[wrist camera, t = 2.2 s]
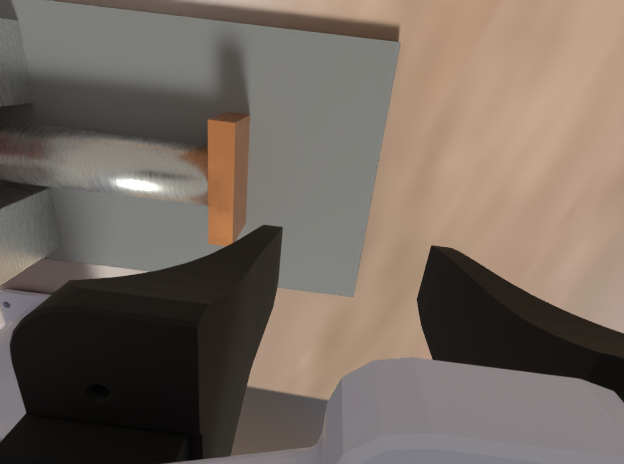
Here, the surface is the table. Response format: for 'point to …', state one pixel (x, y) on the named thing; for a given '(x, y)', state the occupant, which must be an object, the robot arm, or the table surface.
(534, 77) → the table surface
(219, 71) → the mat
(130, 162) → the pin
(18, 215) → the hitch block
